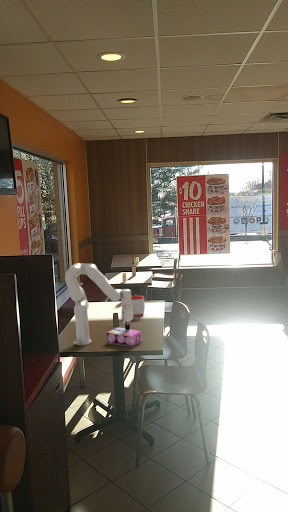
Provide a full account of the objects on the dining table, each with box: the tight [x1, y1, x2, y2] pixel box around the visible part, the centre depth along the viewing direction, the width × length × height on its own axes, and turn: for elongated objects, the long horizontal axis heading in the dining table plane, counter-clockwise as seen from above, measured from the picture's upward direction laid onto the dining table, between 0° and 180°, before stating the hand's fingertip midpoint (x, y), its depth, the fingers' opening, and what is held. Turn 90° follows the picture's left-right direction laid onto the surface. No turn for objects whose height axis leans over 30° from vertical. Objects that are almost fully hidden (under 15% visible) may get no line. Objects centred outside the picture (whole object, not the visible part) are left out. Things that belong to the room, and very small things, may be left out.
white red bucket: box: [131, 293, 146, 318], centre depth 394 cm, size 16×17×20 cm
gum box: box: [106, 326, 143, 347], centre depth 322 cm, size 24×8×14 cm
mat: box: [107, 339, 145, 348], centre depth 323 cm, size 15×23×1 cm, turn 61°
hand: (127, 329), depth 326 cm, fingers closed
